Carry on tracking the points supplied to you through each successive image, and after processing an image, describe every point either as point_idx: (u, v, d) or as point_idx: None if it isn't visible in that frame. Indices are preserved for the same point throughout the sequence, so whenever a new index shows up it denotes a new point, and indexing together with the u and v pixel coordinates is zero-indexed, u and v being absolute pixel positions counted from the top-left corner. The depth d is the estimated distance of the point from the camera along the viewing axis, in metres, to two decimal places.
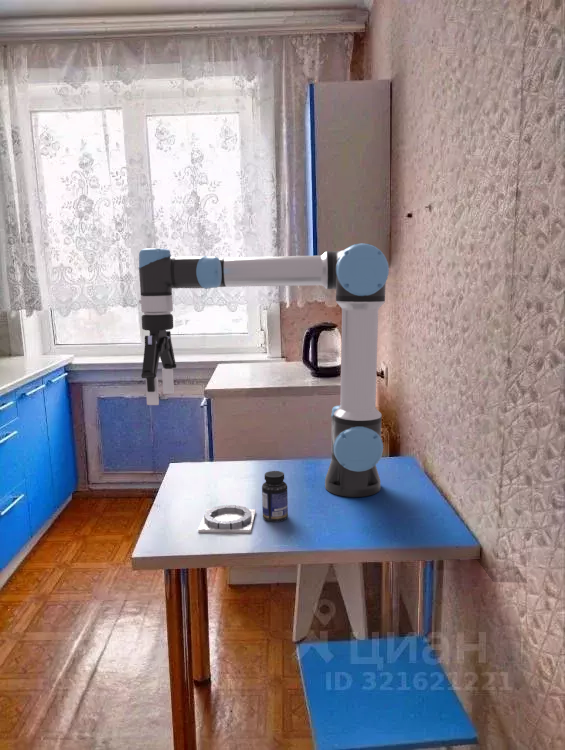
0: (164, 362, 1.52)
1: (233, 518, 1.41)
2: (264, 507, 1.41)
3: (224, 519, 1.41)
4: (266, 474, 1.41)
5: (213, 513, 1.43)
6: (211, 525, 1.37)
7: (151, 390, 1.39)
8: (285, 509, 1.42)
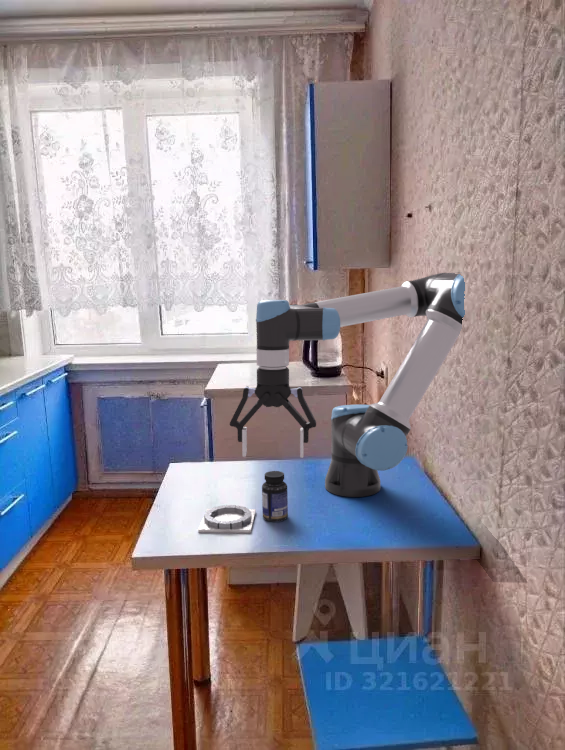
0: None
1: (233, 518, 1.41)
2: (264, 507, 1.41)
3: (224, 519, 1.41)
4: (266, 474, 1.42)
5: (213, 513, 1.43)
6: (211, 525, 1.37)
7: None
8: (285, 509, 1.42)
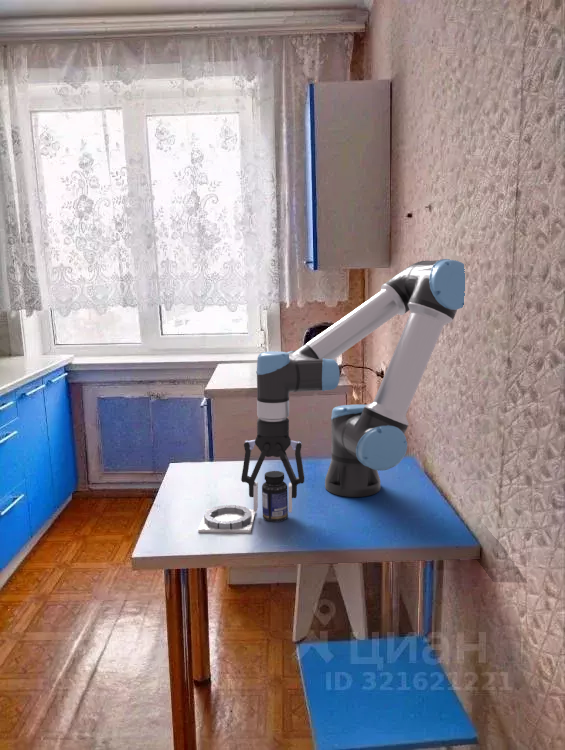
0: None
1: (233, 518, 1.41)
2: (264, 507, 1.41)
3: (224, 519, 1.41)
4: (266, 474, 1.41)
5: (213, 513, 1.43)
6: (211, 525, 1.37)
7: None
8: (285, 509, 1.42)
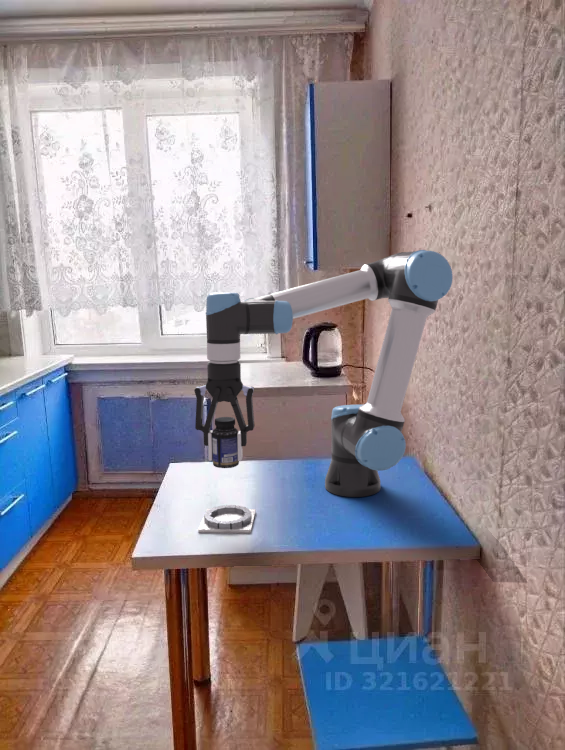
0: None
1: (233, 518, 1.41)
2: (214, 453, 1.37)
3: (224, 519, 1.41)
4: (216, 419, 1.37)
5: (213, 513, 1.43)
6: (211, 525, 1.37)
7: None
8: (235, 455, 1.37)
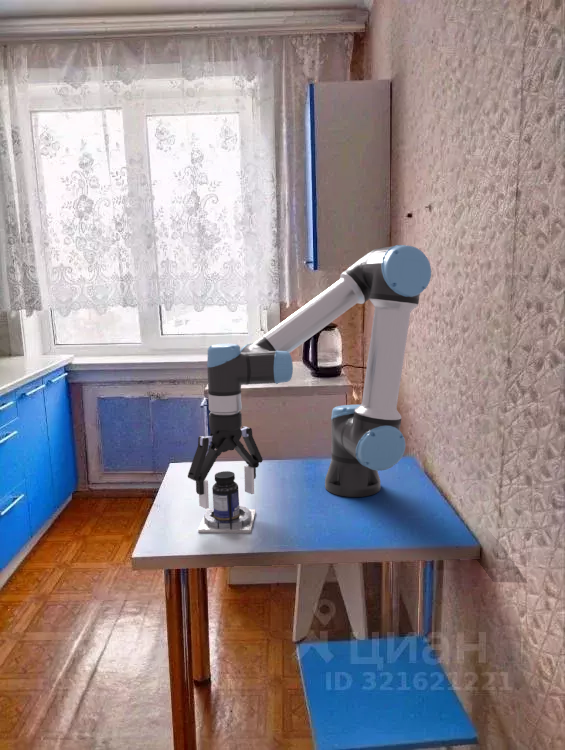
0: (245, 459, 1.43)
1: None
2: (223, 510, 1.37)
3: None
4: (219, 476, 1.38)
5: (213, 513, 1.43)
6: (211, 525, 1.37)
7: (198, 493, 1.34)
8: None
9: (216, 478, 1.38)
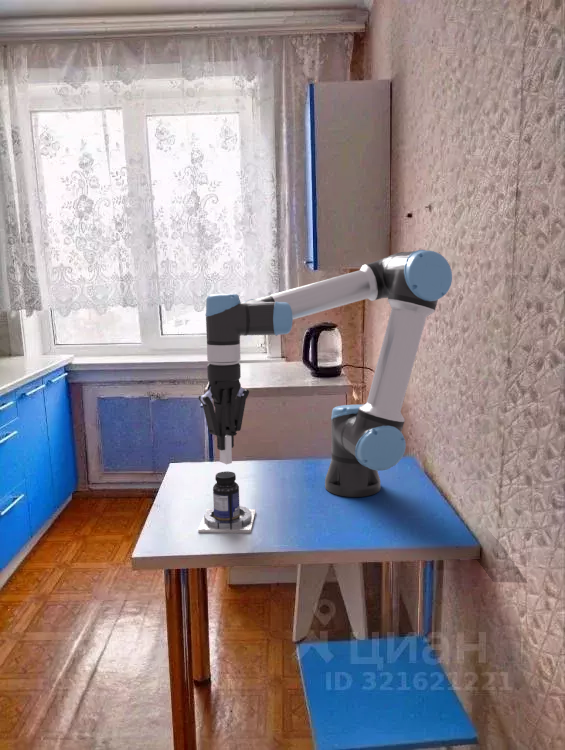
0: (226, 423, 1.38)
1: None
2: (223, 510, 1.37)
3: None
4: (220, 477, 1.37)
5: (213, 513, 1.43)
6: (211, 525, 1.37)
7: (219, 448, 1.37)
8: None
9: (217, 478, 1.38)
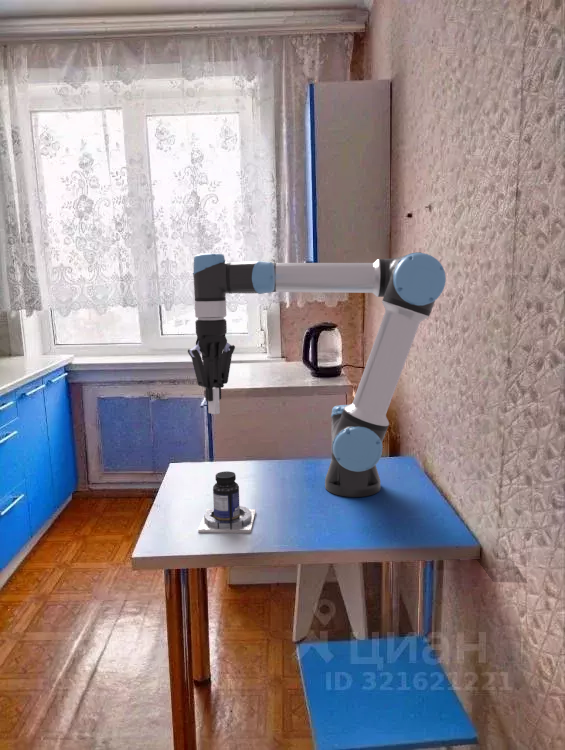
0: (213, 376, 1.48)
1: None
2: (223, 510, 1.37)
3: None
4: (220, 476, 1.38)
5: (213, 513, 1.43)
6: (211, 525, 1.37)
7: (208, 399, 1.46)
8: None
9: (217, 478, 1.38)
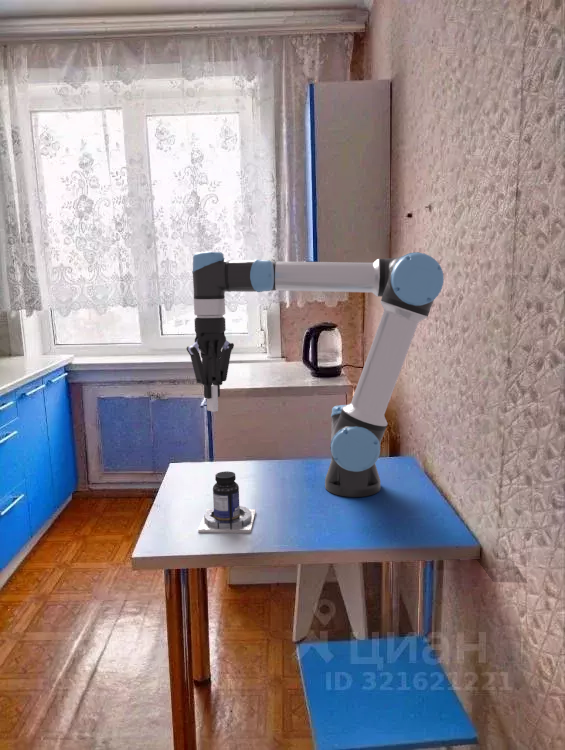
0: (212, 374, 1.49)
1: None
2: (223, 510, 1.37)
3: None
4: (220, 477, 1.38)
5: (213, 513, 1.43)
6: (211, 525, 1.37)
7: (206, 397, 1.47)
8: None
9: (217, 478, 1.38)
